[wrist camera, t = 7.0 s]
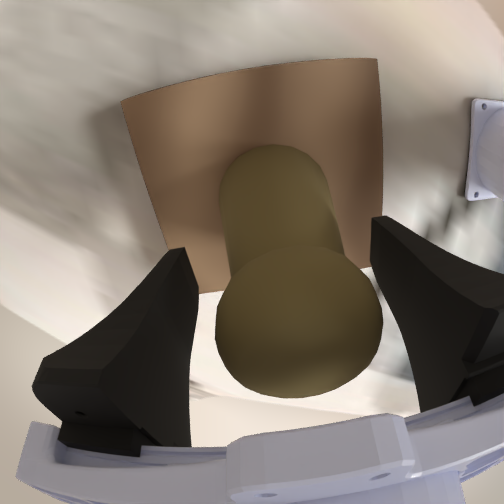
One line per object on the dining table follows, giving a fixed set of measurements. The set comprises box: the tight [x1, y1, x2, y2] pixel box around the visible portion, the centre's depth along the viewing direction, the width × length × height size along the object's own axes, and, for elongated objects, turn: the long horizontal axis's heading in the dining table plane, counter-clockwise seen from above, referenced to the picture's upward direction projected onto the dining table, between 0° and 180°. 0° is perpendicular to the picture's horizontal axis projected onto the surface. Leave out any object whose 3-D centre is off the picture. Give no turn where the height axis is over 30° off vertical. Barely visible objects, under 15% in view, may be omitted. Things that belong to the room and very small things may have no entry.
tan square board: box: [120, 58, 383, 294], centre depth 18 cm, size 13×13×3 cm
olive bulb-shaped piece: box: [215, 144, 383, 398], centre depth 13 cm, size 6×6×11 cm
